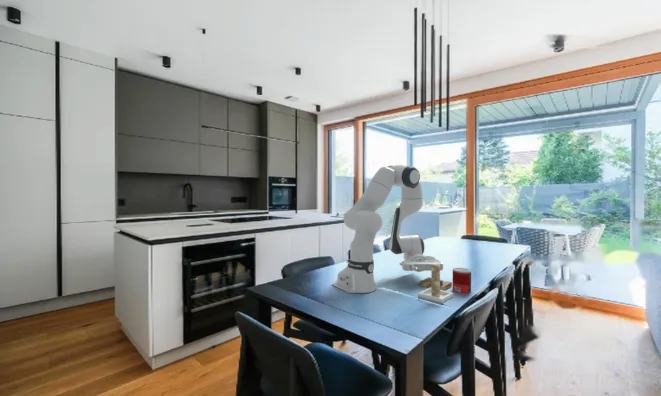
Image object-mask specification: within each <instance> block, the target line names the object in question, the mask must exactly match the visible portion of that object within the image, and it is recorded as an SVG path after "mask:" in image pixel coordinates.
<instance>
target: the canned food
mask: <svg viewBox="0 0 661 396" xmlns="http://www.w3.org/2000/svg"><path fill="white" fill-rule="evenodd" d="M452 291H453V292H454V293H458V294H463V295H464V294H471V293H472V270H471V269H468V268H467V267H466V268H465V267H453V268H452Z"/></svg>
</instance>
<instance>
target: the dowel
mask: <svg viewBox="0 0 661 396" xmlns="http://www.w3.org/2000/svg"><path fill="white" fill-rule="evenodd" d="M430 272H431V277H430V278H431V296H435V297H438V298H439V297H440V280H441V270H440V265H438V264H432V265H431V271H430Z"/></svg>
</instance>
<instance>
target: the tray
mask: <svg viewBox="0 0 661 396" xmlns="http://www.w3.org/2000/svg"><path fill="white" fill-rule="evenodd" d="M417 294H418V295H417V298H418V299H419V300H422V301H425V302H430V303H433V304H437V305H440V306H443V305H444V303H445V302H447V301H448V300H450V299H452V298H453V297H454V292H450V291H448V290H447V291H446V290H444V291H443V290H440V297H439V298H438V297H435V296H431V288H428V287H427V288H426V289H423V290H421V291H420V292H418V293H417Z"/></svg>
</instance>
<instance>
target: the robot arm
mask: <svg viewBox="0 0 661 396" xmlns="http://www.w3.org/2000/svg"><path fill="white" fill-rule="evenodd" d="M420 179H421V174H420V171H419V169H418V168H417V167H415V166H413V165H403V164H398V165H397V164H396V165H389V166H381V167H380V168H379V169H378V170H377V171H376V172H375V174H374V175H373V177H372V178H371V180H370V181H369V183H368V185H367V186H366V189H365V191H364V192H363V193H362V195H361V196H360V198H358V200H357V201H356V202H355V203H354V204H353V206H352V207H351V208H350V209H348V210H346V212H344V214H343V218H342V219H343V223H344V225H345V226H346V227H347V228H349V229H350V230H353V231H355V233H354V238H353V240H351V242H350V247H349V248H350V251H349V252H350V254H349V255H350V258H349V259H347V260H346V262H345V263H347V265H346V267H344V268H343V269H342V270H340V271H339V272H338V274H337V278H336V279H337V280H334V281H333V282H332V285H333V286H334V287H335V288H338V289H340V290H342V291H344V292H347V293H348V294H353V293H354V294H355V293H358V294H361V293H362V294H365V293H366V294H367V293H373V292H375V291H376V290H377V286H376V282H375V276H374V275H375V274H374V268H375V263H374V243H375V240H376V235H377V234H378V232H379V231H380V230H381V229H382V225H383V219H382V217H381V215H380V214H379V213H378V212H376V211H377V210H378V209H380V208H381V207H383V205H384V203H385V202H386V200H387V198H388V196H389V194H390V192H391V190H392V189H393V186H395V187H400V188H401V194H400V195H401V196H400V197H401V201H400V203H399V206H398V207H397V208H395V211H394V215H393V221H392V228H391V234H390V239H389V243H388V247H389V251H391V253H393V254H395V255H401V254H403V260H402V261H401V262H399V266H401V268H402V271H405V272H409V271H411V272H412V271H413V272H418V273H419V272H424V271H425V272H427V271H429V272H431V265H432V264H438V265H440V271H443V270H444V263H443V262H442V261H440V260H439V259H437V258H436V257H435V256H431V255H430V256H427V255H424V253H425V242H424V239H423V238H422V237H421V236H420V235H418V234H409V235H401V228H402V222H403V221H404V220H405V219H407V218H409V217H411V216H413V215H415V214H417V213H418V212H419V211H420V210H421V209H422V207H423V188H422V183H421V180H420Z"/></svg>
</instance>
